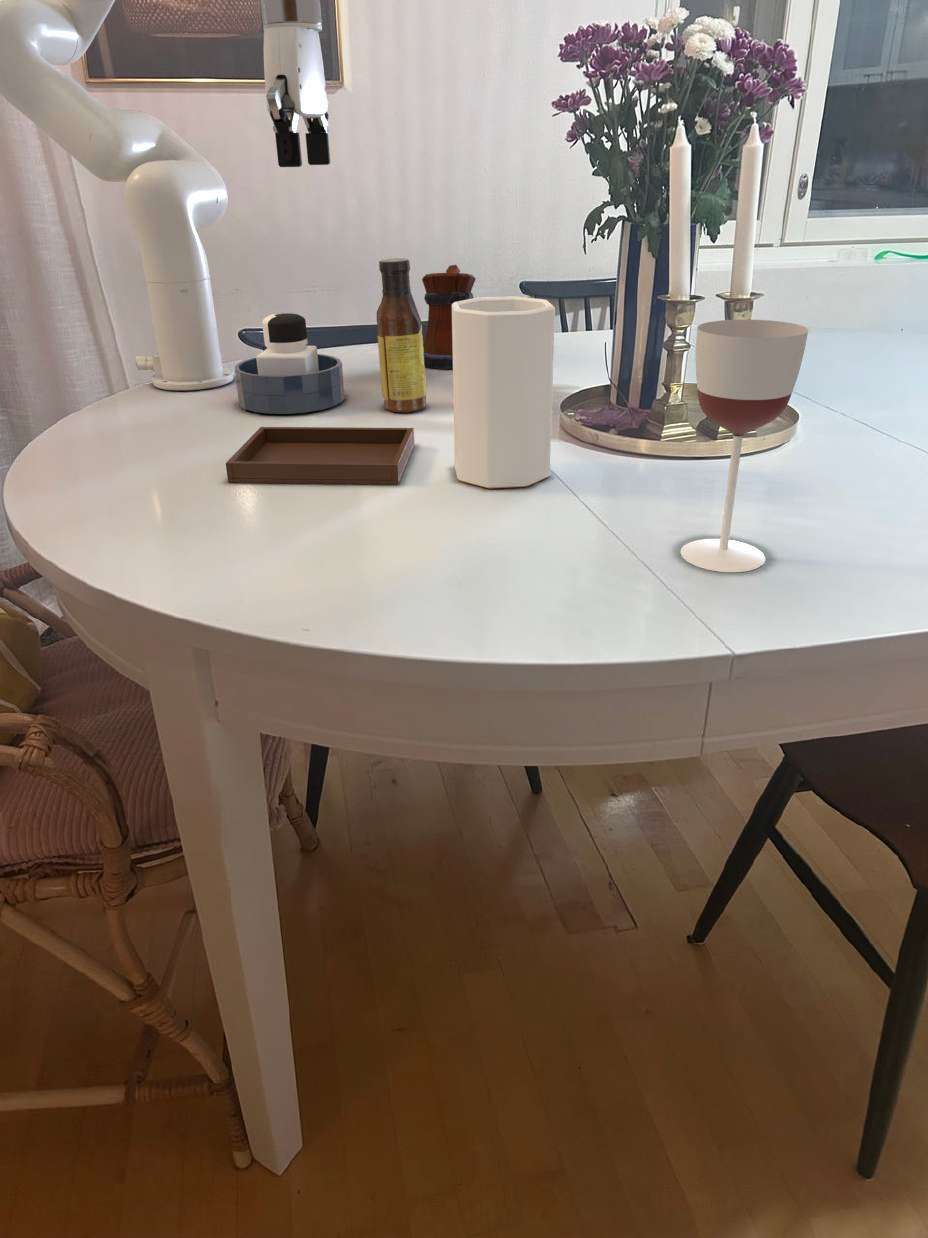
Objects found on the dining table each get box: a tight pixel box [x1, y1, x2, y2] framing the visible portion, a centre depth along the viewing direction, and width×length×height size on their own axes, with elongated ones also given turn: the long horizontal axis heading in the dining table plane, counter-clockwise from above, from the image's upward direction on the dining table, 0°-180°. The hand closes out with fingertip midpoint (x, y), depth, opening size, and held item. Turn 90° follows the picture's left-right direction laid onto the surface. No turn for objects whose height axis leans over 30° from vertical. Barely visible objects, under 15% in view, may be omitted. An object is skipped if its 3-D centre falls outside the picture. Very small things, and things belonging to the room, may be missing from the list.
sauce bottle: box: [375, 257, 427, 413], centre depth 124 cm, size 7×6×20 cm
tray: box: [225, 426, 415, 486], centre depth 107 cm, size 19×14×2 cm
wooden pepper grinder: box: [421, 264, 476, 370], centre depth 154 cm, size 18×12×15 cm, turn 177°
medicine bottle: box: [255, 312, 319, 376], centre depth 130 cm, size 7×7×12 cm
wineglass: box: [679, 319, 809, 573], centre depth 78 cm, size 8×9×20 cm
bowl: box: [234, 353, 346, 415], centre depth 132 cm, size 15×15×6 cm
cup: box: [452, 295, 556, 490], centre depth 99 cm, size 11×11×18 cm
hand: (305, 165), depth 124 cm, fingers open, 9 cm apart
